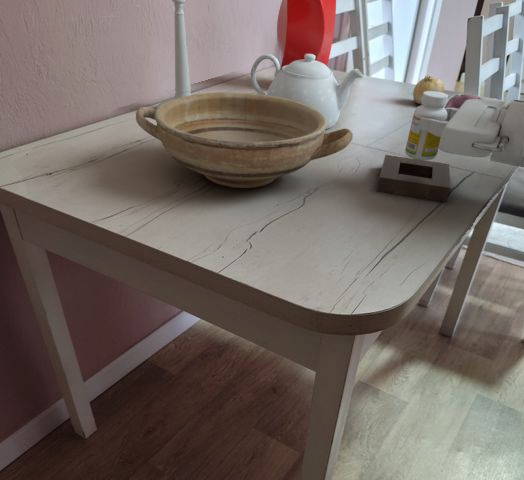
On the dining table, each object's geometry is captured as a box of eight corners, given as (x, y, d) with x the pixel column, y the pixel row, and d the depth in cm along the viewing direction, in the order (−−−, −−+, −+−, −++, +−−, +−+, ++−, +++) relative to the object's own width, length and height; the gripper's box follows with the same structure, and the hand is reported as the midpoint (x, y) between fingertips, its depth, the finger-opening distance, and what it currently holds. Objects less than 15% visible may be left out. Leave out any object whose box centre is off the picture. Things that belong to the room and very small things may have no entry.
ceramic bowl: (347, 158, 96) (356, 103, 90) (339, 222, 75) (351, 156, 68) (167, 137, 100) (163, 83, 93) (110, 192, 79) (100, 127, 72)
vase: (270, 82, 140) (277, -43, 122) (318, 82, 143) (331, -40, 125) (285, 96, 129) (295, -38, 111) (335, 95, 133) (353, -35, 114)
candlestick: (212, 105, 120) (210, -54, 100) (209, 120, 110) (206, -51, 90) (160, 102, 119) (147, -58, 99) (152, 118, 109) (137, -56, 89)
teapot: (315, 107, 123) (322, 44, 114) (355, 129, 111) (367, 61, 102) (247, 112, 116) (249, 46, 107) (282, 137, 104) (288, 64, 95)
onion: (414, 98, 135) (420, 69, 130) (443, 103, 132) (451, 74, 128) (407, 105, 129) (414, 75, 124) (438, 110, 127) (446, 80, 122)
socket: (445, 177, 92) (449, 164, 90) (445, 202, 83) (450, 188, 81) (382, 167, 94) (385, 154, 92) (376, 191, 85) (379, 177, 83)
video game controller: (480, 131, 120) (492, 101, 118) (479, 126, 116) (491, 95, 114) (441, 123, 124) (452, 93, 122) (438, 118, 120) (450, 87, 118)
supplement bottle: (438, 153, 86) (455, 93, 79) (432, 163, 82) (450, 100, 76) (408, 147, 87) (422, 87, 81) (401, 156, 84) (415, 94, 77)
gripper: (495, 174, 72) (403, 154, 76) (510, 137, 86) (432, 122, 90) (512, 129, 68) (413, 111, 72) (525, 98, 82) (442, 85, 86)
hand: (424, 117), depth 81 cm, fingers closed on supplement bottle, 5 cm apart
